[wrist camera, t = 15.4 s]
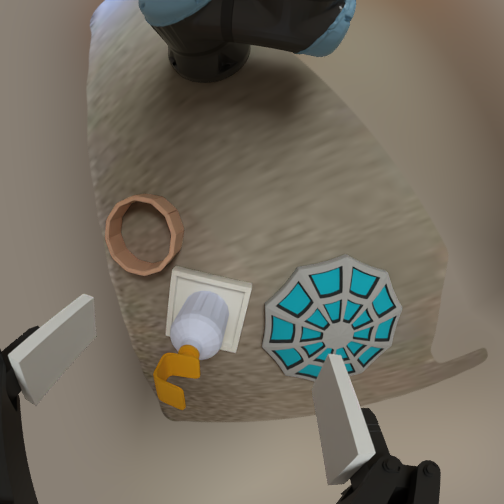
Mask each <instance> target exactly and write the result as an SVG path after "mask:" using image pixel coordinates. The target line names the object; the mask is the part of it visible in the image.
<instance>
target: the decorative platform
mask: <svg viewBox="0 0 504 504" xmlns="http://www.w3.org/2000/svg"><path fill="white" fill-rule="evenodd" d="M401 311H402V306H401V304H400V302H399V301H398V299H397V297H396V295H395V292H394V290H393V287H392V284H391V281H390V278H389V275H388V273H387V272H386V271H385V270H382V269H378V268H375V267H372V266H369V265H367V264H364V263H362V262H360V261H358V260H356V259H354V258H352V257H350V256H348V255H347V254H345V255H342V256H339V257H337V258H334V259H331V260H328V261H325V262H321V263H317V264H312V265H306V266H300V267H297V268H296V270H295V271H294V272H293V274H292V275H291V276H290V278H289V279H288V280H287V282H286V283H285V284H284V285H283V286H282V287H281V288H280V289H279V290H278V291H277V292H276V293H275V294H274V295H273V296H272V297H271V298H270V299H269V300H268V301H267V302H266V303H265V331H264V336H263V341H262V347H263V348H264V349H265V350H266V351H267V352H268V353H269V354H270V355H271V356H272V358H273V359H274V360H275V361H276V362H277V364H278V365H279V366H280V368H281V369H282V371H283V372H284V374H285V375H287V376H292V377H298V378H303V379H307V380H311V381H314V382H315V381H316V379H317V377H318V375H319V373H320V371H321V368H322V366H323V364H324V362H325V360H326V357H327V355H328V354H335V355H341V357H342V359H343V362H344V364H345V367H346V370H347V372H348V375H349V376H351V375H356V374H360V373H362V372H363V371H364V370H365V369H366V368H367V367H368V366H369V365H370V364H371V363H372V362H373V361H374V360H375V359H376V358H377V357H379V356H380V355H381V354H382V353H383V352H384V351H385V350H387V349H388V348H389V347H390V346H391V345H392V340H393V336H394V332H395V328H396V325H397V322H398V319H399V316H400V314H401Z"/></svg>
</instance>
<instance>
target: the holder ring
mask: <svg viewBox="0 0 504 504" xmlns="http://www.w3.org/2000/svg"><path fill="white" fill-rule="evenodd" d="M136 201H141V202H146V203H151V204H152V205H153V206H154V207H155V208H156V209H157V210H159V211H160V212H161V213H162V214H163V215H164V216H165V218H166V221H167V224H168V226H169V229H170V232H171V235H172V236H171V243H170V250H169V254H168V256H167V257H166V258H165V259H164V260H162V261H159V262H156V263H150V262H146V261H142V260H138V259H137V258H136V257H135V256H134V255H133V254H132V253H131V252H130V251H129V250H128V249H127V248H126V246H125V243H124V240H123V238H122V235H121V226H122V217H123V215H124V214H125V212H126V211H127V209H128V208H129V206H130V205H131V204H132V203H134V202H136ZM183 234H184V227H183V224H182V221H181V218H180V215H179V212H178V210H177V209H176V208H175V207H174V206H173V205H172V204H171V203H170V202H168V201H167V200H166V199H165V198H164V197H162V196H157V195H152V194H146V193H145V194H139V195H134V196H131V197H129V198H127V199H125V200H122V201H120V202H118V203H116V205H115V207H114V208H113V210H112V211H111V213H110V214H109V216H108V217H107V220H106V231H105V240H106V243H107V246H108V248H109V251H110V254H111V256H112V257H113V259H114V260H115V261H116V262H117V263H118V264H119V265H120V266H121V267H122V268H123V269H124V270H125V271H126V270H127V272H131V273H134V274H138V275H142V276H146V275H149V274H153V273H156V272H159V271H161V270H162V269H163V268H164V267H166V266H167V265H168V264H169V263H170V262H171V260H172V259H173V258H174V257H175V255H176V254H177V253H178V252H179V251H180V249H181V247H182V241H183Z"/></svg>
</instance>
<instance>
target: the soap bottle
mask: <svg viewBox="0 0 504 504" xmlns="http://www.w3.org/2000/svg"><path fill="white" fill-rule="evenodd" d="M228 317H229V310H228V306H227V304H226V303H225V301H224V300H223V299H222V298H221V297H220V296H219V295H218V294H215V293H213V292H211V291H198V292H194V293H193V294H191V295H190V296H189V297H188V298H187V300H186V301H185V303H184V305H183V306H182V308H181V310H180V311H179V313H178V315H177V316H176V318H175V320H174V322H173V323H172V325H171V329H170V338H171V341H172V344H173V346H174V347H175V348H176V350H177V351H178V354H176V353H166V354H164V355H163V356H162V357H161V359H160V361H159V363H158V365H157V367H156V369H155V371H154V374H153V376H154V381H155V386H156V391H157V395H158V398H159V399H160V400H161V401H162V402H164V403H167V404H169V405H171V406H173V407H176V408H178V409H180V410H184V409H185V407H186V405H185V398H184V392H183V390H182V389H181V388H180V387H178V386H175V385H173V384H171V383H169V382H166V380H167V378H168V377H169V376H172V375H175V376H181V377H188V378H195V379H197V378H199V377H200V361H199V360H204V359H208V358H210V357H212V356H214V355H215V354H216V353H217V352H218V351H219V349H220V348H221V346H222V342H223V338H224V334H225V330H226V325H227V321H228Z"/></svg>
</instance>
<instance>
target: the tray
mask: <svg viewBox="0 0 504 504" xmlns="http://www.w3.org/2000/svg"><path fill="white" fill-rule="evenodd" d="M251 289H252V283H249V282H244V281H240V280H236V279H231V278H227V277H222V276H218V275H214V274H209V273H205V272H201V271H197V270H193V269H188V268H184V267H180V266H175V267H174V268H173V269H172V275H171V284H170V293H169V303H168V313H167V325H166V336H169V337H170V329H171V325H172V323H173V322H174V320H175V318H176V316H177V315H178V313H179V311H180V310H181V308H182V306H183V305H184V303H185V301H186V300H187V298H188V297H189V296H190V295H191V294H193V293H194V292H198V291H211V292H213V293H215V294H218V295H219V296H220V297H221V298H222V299H223V300H224V301H225V303H226V304H227V306H228V310H229V317H228V321H227V325H226V330H225V334H224V338H223V342H222V346H221V348H220V350H225V351H229V352H234V353H236V350H237V346H238V342H239V338H240V334H241V330H242V326H243V322H244V318H245V314H246V310H247V306H248V302H249V297H250V293H251Z"/></svg>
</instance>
